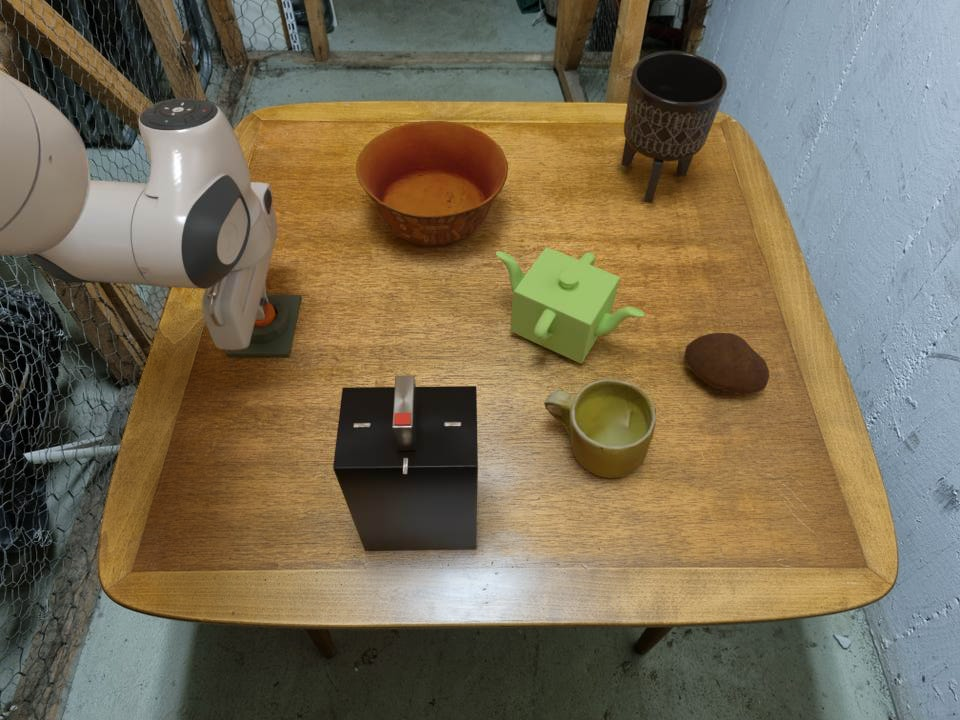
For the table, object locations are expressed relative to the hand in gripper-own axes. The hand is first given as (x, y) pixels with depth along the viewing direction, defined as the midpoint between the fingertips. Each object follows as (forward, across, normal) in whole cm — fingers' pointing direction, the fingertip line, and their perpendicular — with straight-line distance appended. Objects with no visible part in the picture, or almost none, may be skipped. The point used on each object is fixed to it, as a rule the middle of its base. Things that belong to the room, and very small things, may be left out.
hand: (260, 311), depth 87 cm
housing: (+3, 0, 0) cm, 3 cm away
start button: (+2, 0, 0) cm, 2 cm away
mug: (+3, -17, -42) cm, 45 cm away
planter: (+3, +30, -56) cm, 63 cm away
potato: (+3, -8, -59) cm, 59 cm away
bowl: (+3, +21, -22) cm, 30 cm away
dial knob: (-17, -26, -22) cm, 38 cm away
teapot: (+3, 0, -39) cm, 39 cm away
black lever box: (+3, -26, -22) cm, 34 cm away
